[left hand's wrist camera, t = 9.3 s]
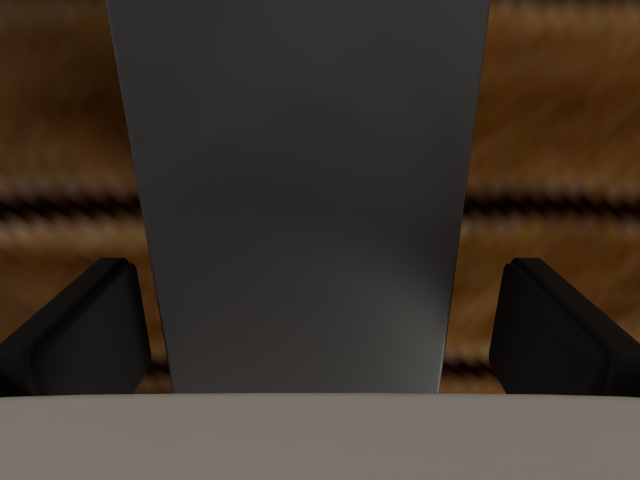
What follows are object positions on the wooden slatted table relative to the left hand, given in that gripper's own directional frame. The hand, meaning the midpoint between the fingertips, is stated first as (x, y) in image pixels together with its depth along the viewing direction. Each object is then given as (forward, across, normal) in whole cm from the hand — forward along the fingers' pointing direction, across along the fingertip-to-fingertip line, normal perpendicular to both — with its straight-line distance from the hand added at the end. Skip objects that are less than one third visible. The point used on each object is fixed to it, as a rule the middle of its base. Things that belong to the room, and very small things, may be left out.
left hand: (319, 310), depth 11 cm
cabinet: (+8, 0, -8) cm, 11 cm away
